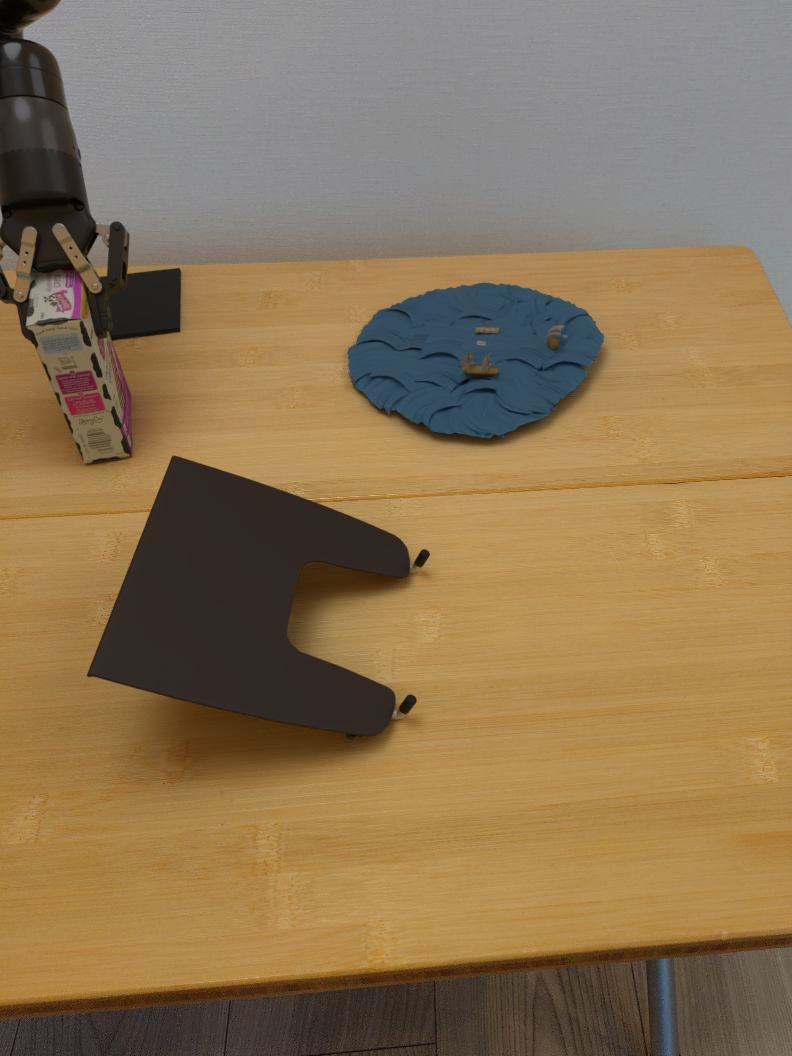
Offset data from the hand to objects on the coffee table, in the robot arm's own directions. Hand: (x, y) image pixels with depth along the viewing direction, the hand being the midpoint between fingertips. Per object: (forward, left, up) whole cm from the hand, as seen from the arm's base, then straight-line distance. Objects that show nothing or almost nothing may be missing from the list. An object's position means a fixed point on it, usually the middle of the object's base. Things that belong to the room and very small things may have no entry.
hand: (70, 339), depth 90 cm
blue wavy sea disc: (+40, +5, -12) cm, 42 cm away
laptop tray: (+17, -31, -12) cm, 38 cm away
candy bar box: (0, +2, -12) cm, 12 cm away
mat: (+1, +26, -12) cm, 28 cm away
